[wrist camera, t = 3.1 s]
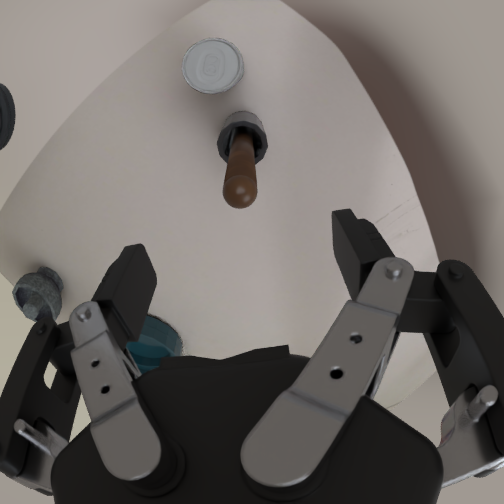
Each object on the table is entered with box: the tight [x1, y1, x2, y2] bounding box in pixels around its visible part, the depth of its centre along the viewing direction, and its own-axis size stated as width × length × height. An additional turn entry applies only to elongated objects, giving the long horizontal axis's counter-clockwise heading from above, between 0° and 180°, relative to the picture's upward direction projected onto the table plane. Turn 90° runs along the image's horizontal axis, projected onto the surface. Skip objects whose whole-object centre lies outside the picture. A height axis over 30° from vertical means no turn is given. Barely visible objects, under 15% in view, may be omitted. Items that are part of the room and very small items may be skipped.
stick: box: [223, 126, 257, 209], centre depth 25 cm, size 2×2×20 cm
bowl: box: [126, 315, 182, 374], centre depth 52 cm, size 15×15×5 cm
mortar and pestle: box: [12, 267, 63, 322], centre depth 41 cm, size 11×9×12 cm
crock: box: [217, 111, 268, 164], centre depth 30 cm, size 5×5×8 cm
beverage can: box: [182, 38, 244, 94], centre depth 24 cm, size 5×5×12 cm
